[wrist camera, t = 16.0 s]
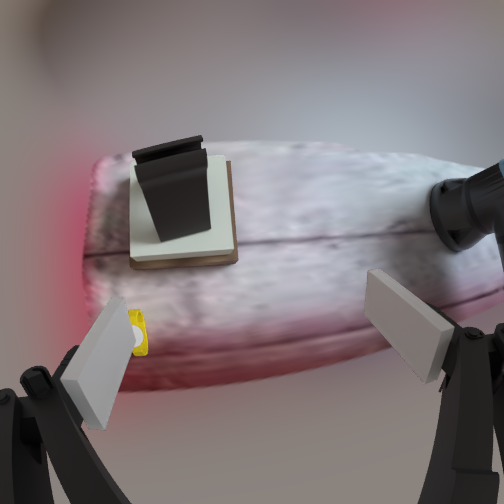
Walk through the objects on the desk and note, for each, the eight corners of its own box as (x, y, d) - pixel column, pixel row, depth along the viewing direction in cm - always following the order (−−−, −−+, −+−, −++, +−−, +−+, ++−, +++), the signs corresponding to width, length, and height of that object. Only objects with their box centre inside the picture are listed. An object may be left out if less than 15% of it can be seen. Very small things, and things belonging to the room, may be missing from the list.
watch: (154, 349, 37) (148, 360, 32) (135, 351, 37) (126, 362, 31) (147, 307, 38) (139, 311, 32) (128, 309, 37) (117, 313, 31)
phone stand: (146, 173, 33) (127, 117, 22) (193, 161, 35) (194, 102, 23) (160, 243, 32) (141, 212, 21) (211, 230, 34) (218, 193, 22)
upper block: (222, 168, 39) (225, 155, 36) (230, 254, 38) (233, 248, 34) (136, 174, 37) (130, 161, 33) (137, 261, 35) (130, 256, 31)
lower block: (227, 172, 44) (230, 160, 40) (234, 264, 42) (238, 260, 38) (136, 177, 41) (131, 166, 37) (136, 270, 39) (129, 267, 35)
